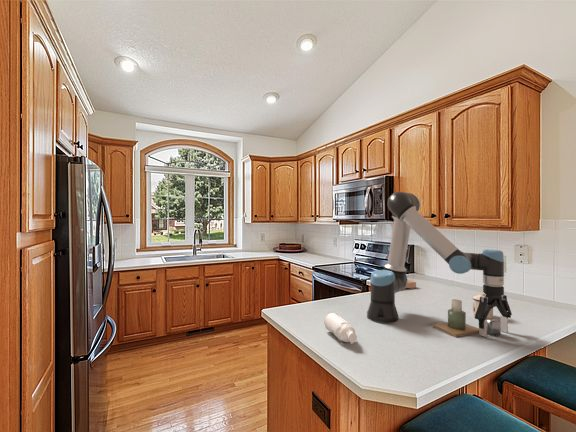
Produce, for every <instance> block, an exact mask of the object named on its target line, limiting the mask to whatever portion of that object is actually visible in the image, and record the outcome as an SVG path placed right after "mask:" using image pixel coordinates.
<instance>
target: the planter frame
mask: <svg viewBox="0 0 576 432" xmlns="http://www.w3.org/2000/svg"><path fill="white" fill-rule="evenodd" d="M405 288H411V289H417V281H414V280H409V279H407V285H406V287H405ZM405 288H404V289H403V290H406V289H405Z"/></svg>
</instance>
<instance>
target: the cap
mask: <svg viewBox="0 0 576 432" xmlns="http://www.w3.org/2000/svg"><path fill="white" fill-rule="evenodd" d="M485 321H486V327H487V335H489V336H493V337H501V335H502V334H501V333H502V331H501V321H500V319H497V318H486V319H485Z"/></svg>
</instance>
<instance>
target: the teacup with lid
mask: <svg viewBox="0 0 576 432" xmlns="http://www.w3.org/2000/svg"><path fill="white" fill-rule="evenodd" d="M485 296H486V294H485V293H484V292H481V293H480V294H479V295H474V296H472V306H473V307H472V309H473V312H472V313H473V315H474V316H475V314H476V311H477V308H478V305H479V302H480V297H485ZM487 305H488V304H487ZM487 318H492V319H494V307H493V308H492V309H491V310H490V312H489V314H488V316H487ZM487 318H486V319H487Z"/></svg>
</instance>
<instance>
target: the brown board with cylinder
mask: <svg viewBox="0 0 576 432" xmlns="http://www.w3.org/2000/svg"><path fill="white" fill-rule="evenodd" d="M466 316H467V315H466V312H465V311H464V310H463V300H461V299H451V309H450V308H449V309H448V310H447V322H441V323H435V324H434V323H433V324H432V328H434V329H436V330H438V331H439V332H440V331H441V332H443V333H445V334H447V335H450V336H453V337H454V338H458V337H464V336H470V335H474V334H475V335H476V334H479V327H476V326H473V325H471V324H468V323H467V322H466Z"/></svg>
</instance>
